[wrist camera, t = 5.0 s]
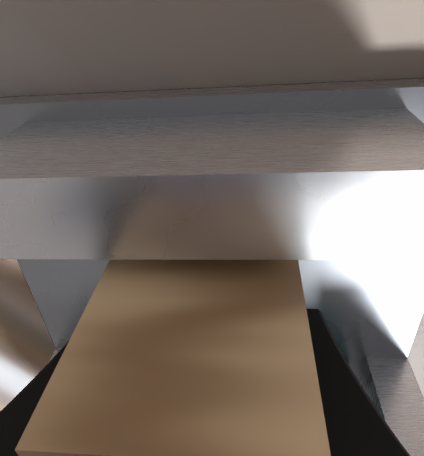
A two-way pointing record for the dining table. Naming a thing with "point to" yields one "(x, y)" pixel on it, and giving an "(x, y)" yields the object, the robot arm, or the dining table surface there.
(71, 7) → the dining table surface
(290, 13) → the dining table surface
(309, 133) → the press
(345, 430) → the robot arm
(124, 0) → the dining table surface
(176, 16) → the dining table surface
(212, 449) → the block
